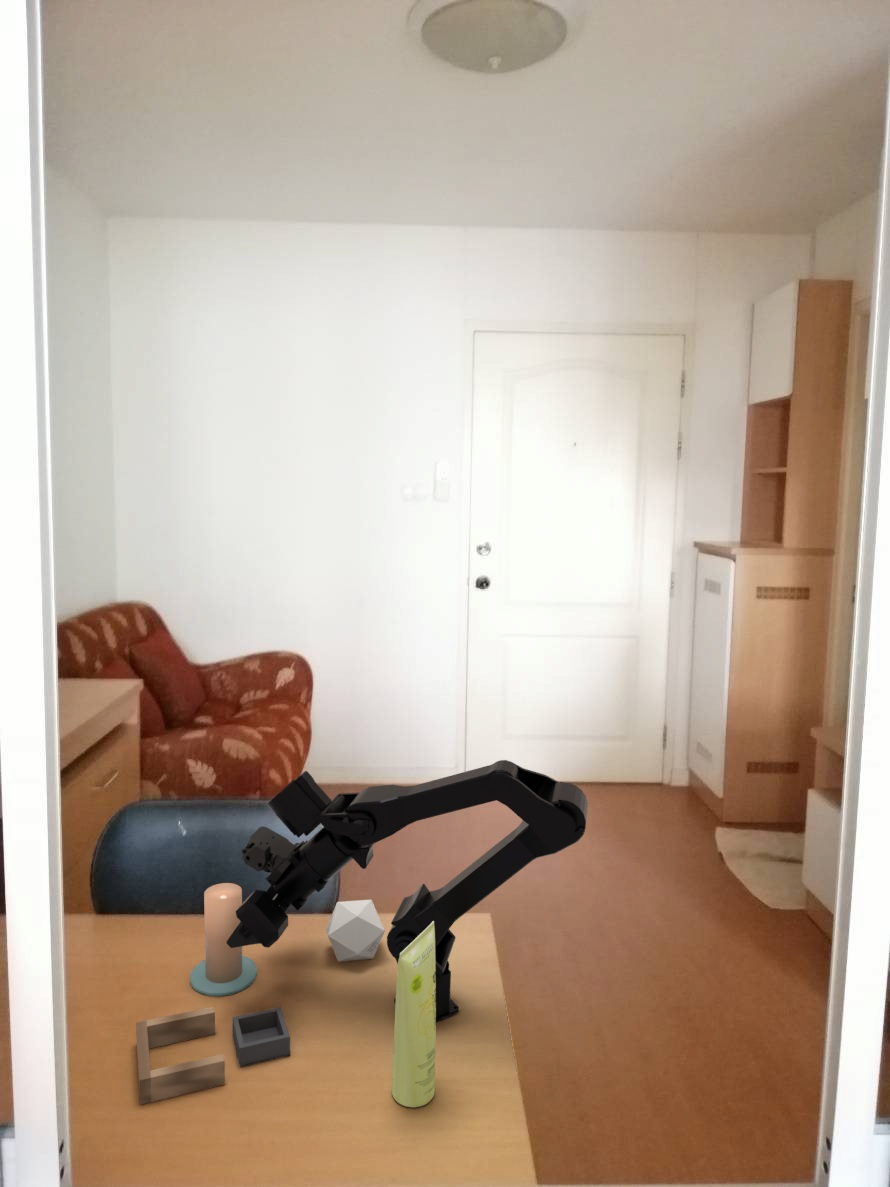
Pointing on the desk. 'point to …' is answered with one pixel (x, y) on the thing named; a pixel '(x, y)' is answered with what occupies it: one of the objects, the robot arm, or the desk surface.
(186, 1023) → the channel
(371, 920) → the die
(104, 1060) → the desk surface
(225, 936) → the canister
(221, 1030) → the desk surface
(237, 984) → the pad
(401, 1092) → the tube
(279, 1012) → the tray
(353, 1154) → the desk surface
